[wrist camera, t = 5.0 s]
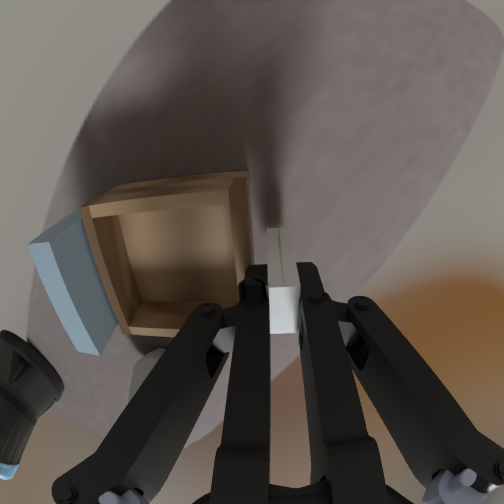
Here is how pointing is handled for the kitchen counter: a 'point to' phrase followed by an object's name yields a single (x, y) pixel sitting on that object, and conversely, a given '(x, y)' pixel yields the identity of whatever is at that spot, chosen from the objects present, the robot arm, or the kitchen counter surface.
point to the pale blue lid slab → (74, 283)
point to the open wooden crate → (170, 247)
